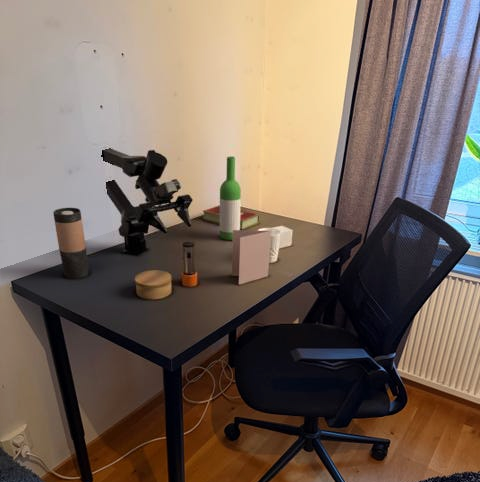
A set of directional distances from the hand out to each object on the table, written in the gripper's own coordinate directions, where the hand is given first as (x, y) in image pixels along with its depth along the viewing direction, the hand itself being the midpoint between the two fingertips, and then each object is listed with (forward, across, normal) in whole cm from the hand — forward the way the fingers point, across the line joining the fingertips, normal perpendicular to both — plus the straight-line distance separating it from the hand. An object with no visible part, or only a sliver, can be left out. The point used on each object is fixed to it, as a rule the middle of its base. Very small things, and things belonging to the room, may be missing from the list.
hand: (178, 229), depth 134 cm
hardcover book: (-13, +49, +28) cm, 58 cm away
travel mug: (-8, -24, +24) cm, 35 cm away
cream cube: (+12, +44, +9) cm, 47 cm away
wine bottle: (-2, +35, +20) cm, 40 cm away
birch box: (+13, -14, +8) cm, 21 cm away
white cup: (+18, +29, +5) cm, 35 cm away
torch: (+15, -3, +7) cm, 17 cm away
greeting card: (+24, +13, 0) cm, 27 cm away
